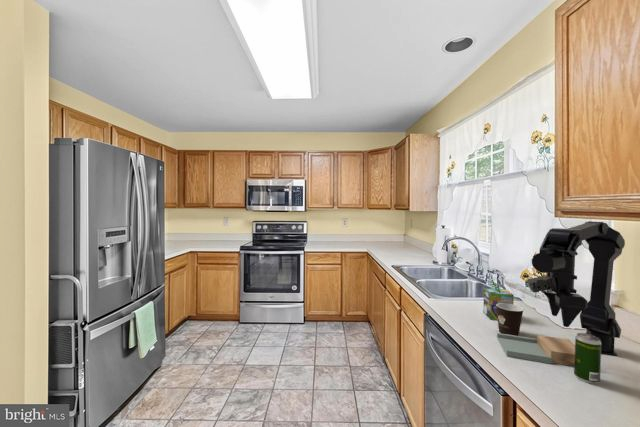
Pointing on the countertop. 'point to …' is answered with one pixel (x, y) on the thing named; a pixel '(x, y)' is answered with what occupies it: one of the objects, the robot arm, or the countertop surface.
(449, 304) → the countertop surface
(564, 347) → the tan block
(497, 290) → the chalk box
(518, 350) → the grey-green tray
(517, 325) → the coffee mug
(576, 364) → the beer can
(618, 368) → the countertop surface
